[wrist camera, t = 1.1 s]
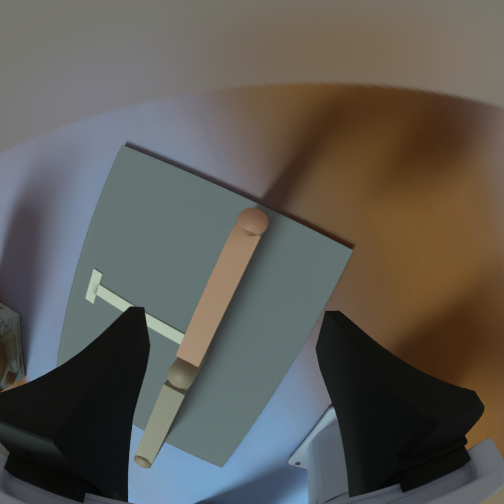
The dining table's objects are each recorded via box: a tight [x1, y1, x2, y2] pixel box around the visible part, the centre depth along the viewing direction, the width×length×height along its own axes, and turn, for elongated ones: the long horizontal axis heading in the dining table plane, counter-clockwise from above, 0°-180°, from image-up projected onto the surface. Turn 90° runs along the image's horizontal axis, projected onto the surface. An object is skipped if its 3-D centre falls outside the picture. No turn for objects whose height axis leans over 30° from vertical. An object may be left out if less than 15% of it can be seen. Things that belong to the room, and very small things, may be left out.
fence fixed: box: [134, 345, 211, 468], centre depth 21 cm, size 2×12×5 cm, turn 155°
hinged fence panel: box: [176, 208, 270, 367], centre depth 19 cm, size 10×2×5 cm, turn 155°
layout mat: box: [56, 145, 353, 467], centre depth 23 cm, size 20×24×1 cm
